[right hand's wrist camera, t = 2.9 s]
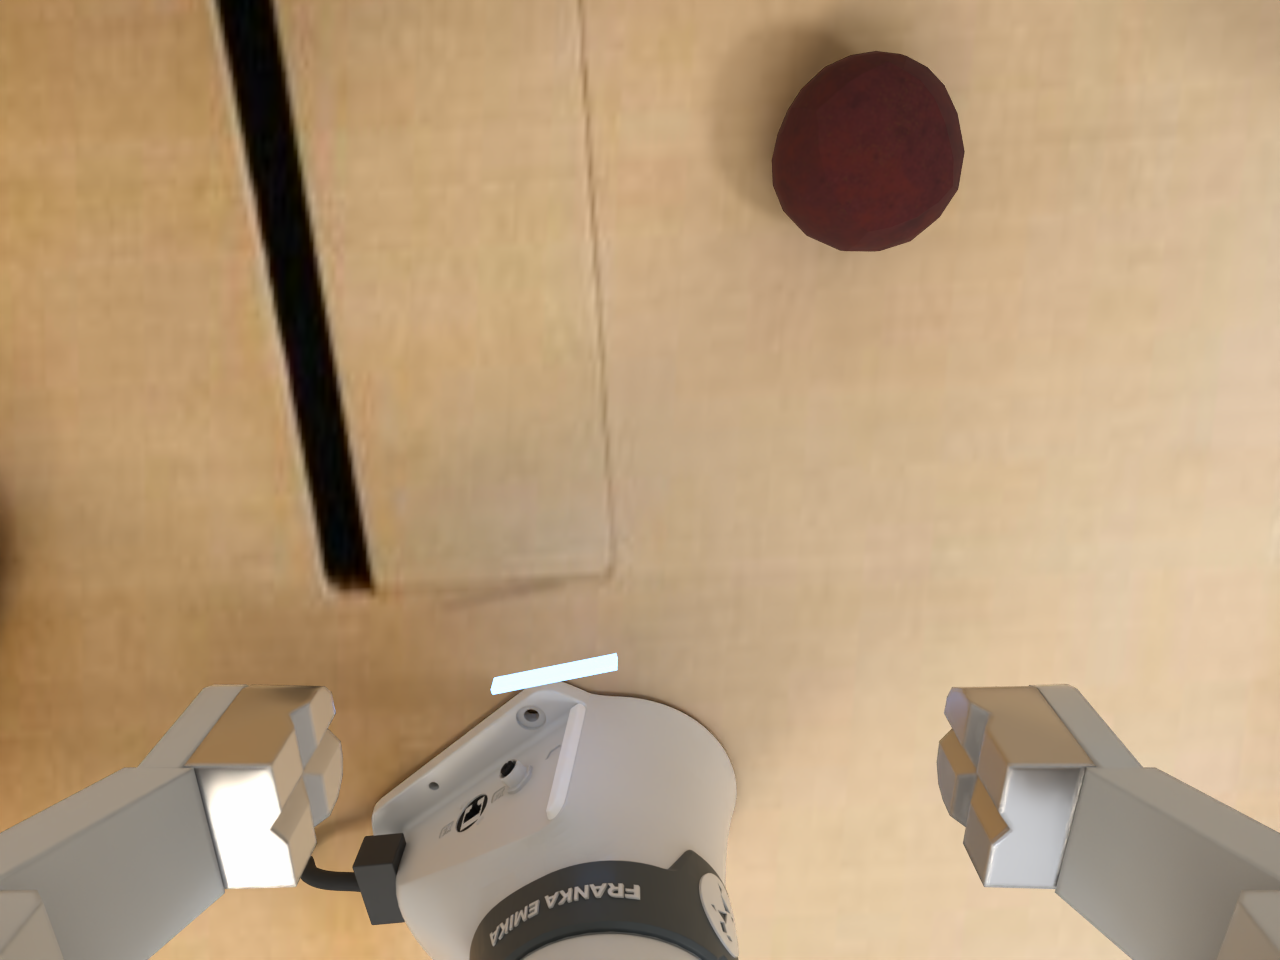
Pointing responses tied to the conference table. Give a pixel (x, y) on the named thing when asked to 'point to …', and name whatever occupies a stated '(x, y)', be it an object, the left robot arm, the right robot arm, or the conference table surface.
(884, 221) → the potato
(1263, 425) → the conference table surface
